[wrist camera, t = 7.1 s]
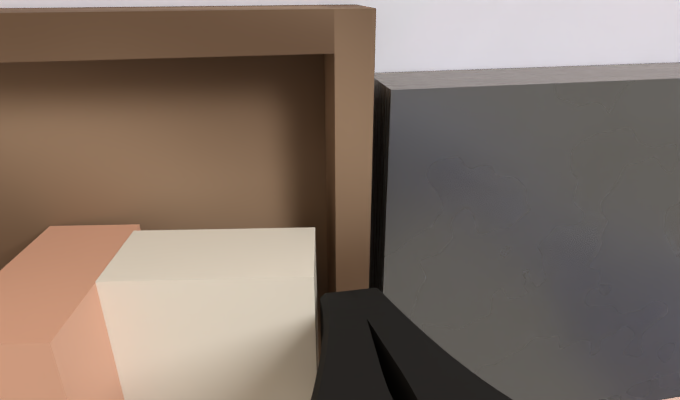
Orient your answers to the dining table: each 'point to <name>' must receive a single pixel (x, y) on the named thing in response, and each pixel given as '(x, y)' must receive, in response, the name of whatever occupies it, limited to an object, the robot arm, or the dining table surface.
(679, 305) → the slate plate
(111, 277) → the tile
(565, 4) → the dining table surface
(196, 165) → the box
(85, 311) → the tile
